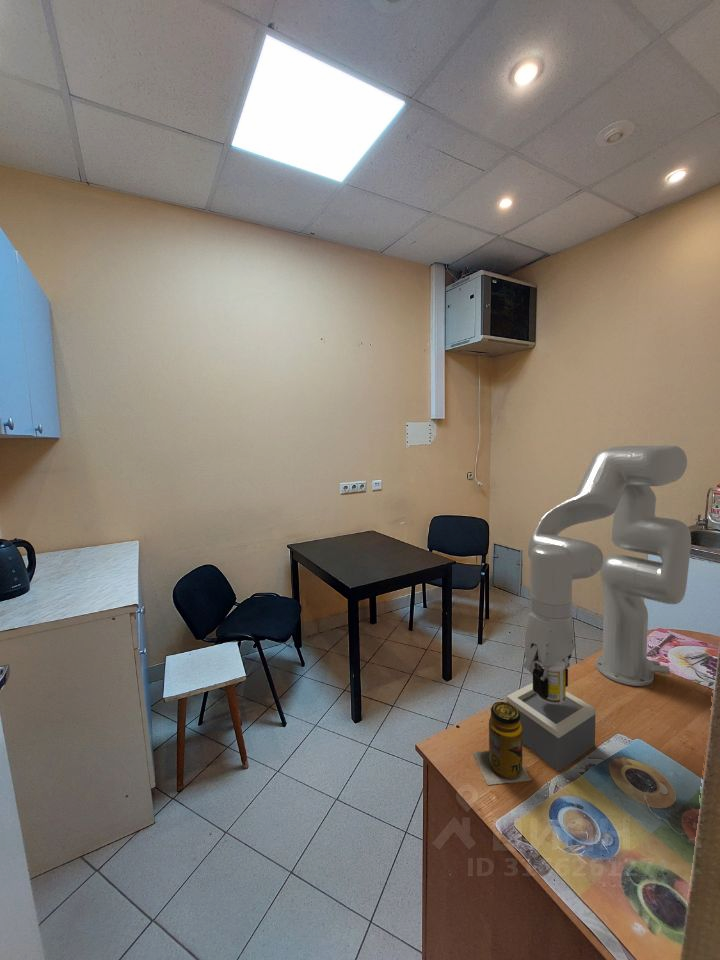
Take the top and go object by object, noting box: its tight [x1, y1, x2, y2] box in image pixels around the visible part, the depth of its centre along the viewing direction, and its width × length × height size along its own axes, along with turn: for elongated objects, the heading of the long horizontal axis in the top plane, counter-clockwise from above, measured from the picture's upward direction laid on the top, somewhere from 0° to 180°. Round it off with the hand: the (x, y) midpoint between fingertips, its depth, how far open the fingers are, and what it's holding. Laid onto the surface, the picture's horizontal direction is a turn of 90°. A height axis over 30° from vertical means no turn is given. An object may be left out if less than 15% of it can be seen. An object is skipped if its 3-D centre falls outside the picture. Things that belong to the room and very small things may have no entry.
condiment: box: [472, 701, 532, 786], centre depth 73 cm, size 7×8×12 cm
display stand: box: [506, 682, 597, 773], centre depth 80 cm, size 12×12×8 cm
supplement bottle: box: [537, 660, 567, 704], centre depth 79 cm, size 6×6×10 cm
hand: (550, 687), depth 79 cm, fingers closed on supplement bottle, 5 cm apart
